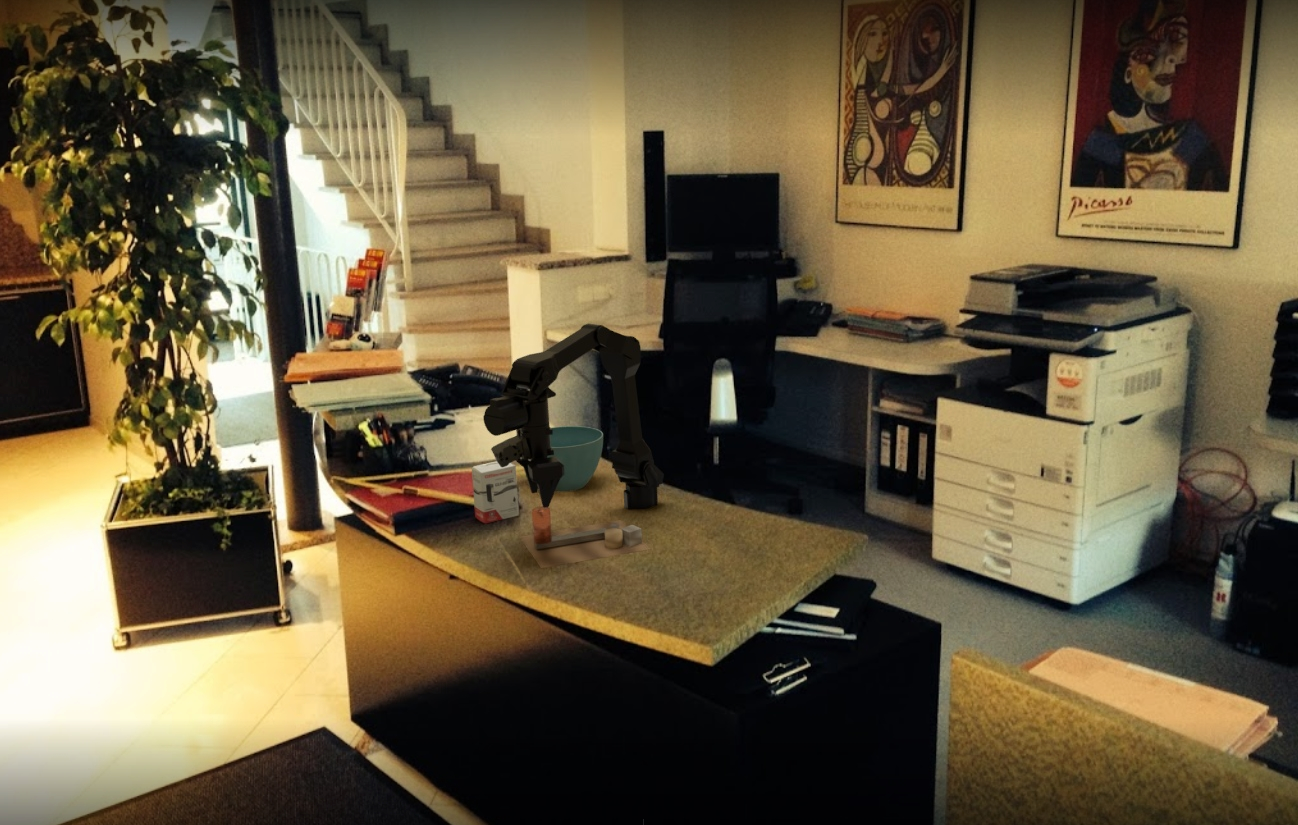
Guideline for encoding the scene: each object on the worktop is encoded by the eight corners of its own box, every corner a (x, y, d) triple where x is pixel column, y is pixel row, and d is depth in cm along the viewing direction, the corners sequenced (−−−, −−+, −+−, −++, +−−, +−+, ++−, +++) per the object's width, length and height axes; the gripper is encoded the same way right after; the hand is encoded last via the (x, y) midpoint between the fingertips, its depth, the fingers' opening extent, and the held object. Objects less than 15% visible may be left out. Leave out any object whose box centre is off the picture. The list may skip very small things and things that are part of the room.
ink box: (484, 524, 238) (480, 471, 235) (474, 518, 242) (470, 466, 239) (520, 515, 243) (516, 463, 240) (510, 509, 247) (506, 458, 244)
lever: (605, 532, 226) (603, 496, 224) (610, 538, 223) (608, 502, 221) (532, 544, 221) (529, 508, 219) (536, 550, 218) (534, 513, 216)
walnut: (619, 541, 222) (619, 527, 221) (625, 547, 219) (624, 533, 218) (603, 544, 221) (602, 530, 220) (608, 550, 218) (607, 535, 217)
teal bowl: (512, 491, 259) (508, 441, 255) (561, 470, 273) (558, 421, 270) (573, 504, 248) (569, 451, 245) (621, 480, 263) (618, 431, 260)
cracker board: (622, 525, 234) (621, 506, 233) (650, 554, 218) (649, 534, 217) (519, 542, 227) (518, 522, 226) (541, 573, 211) (540, 553, 210)
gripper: (483, 417, 220) (489, 491, 224) (503, 441, 203) (510, 521, 207) (538, 410, 223) (543, 483, 228) (562, 433, 206) (567, 512, 210)
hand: (540, 499), depth 218 cm, fingers open, 9 cm apart
